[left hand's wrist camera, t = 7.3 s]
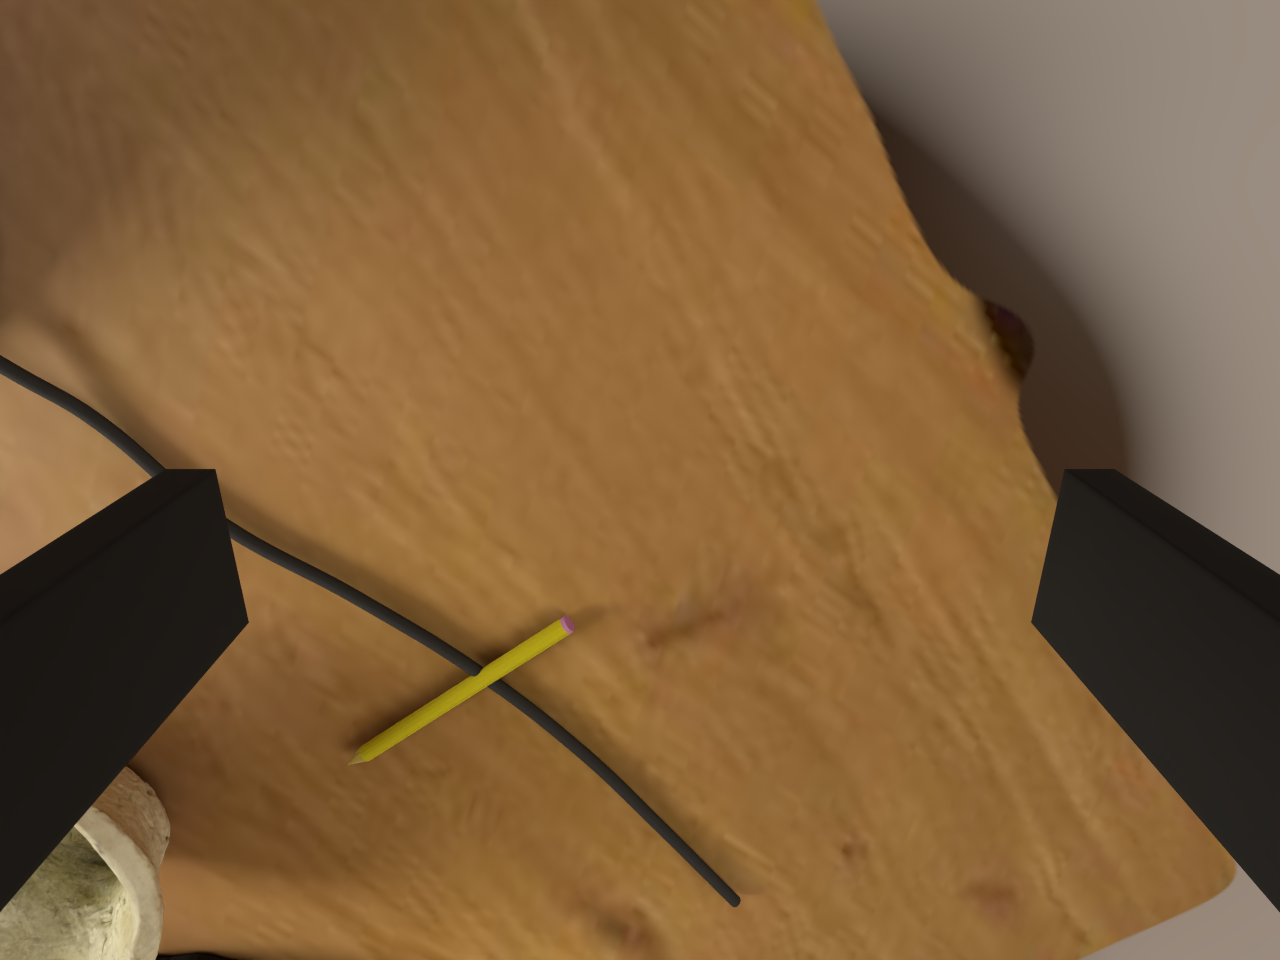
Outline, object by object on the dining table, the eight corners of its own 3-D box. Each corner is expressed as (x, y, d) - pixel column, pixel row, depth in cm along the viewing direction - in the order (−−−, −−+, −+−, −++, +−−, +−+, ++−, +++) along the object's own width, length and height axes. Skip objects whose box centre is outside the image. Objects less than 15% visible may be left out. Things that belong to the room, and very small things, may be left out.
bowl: (213, 832, 54) (-21, 1009, 47) (43, 636, 46) (-267, 812, 39) (263, 956, 43) (-30, 1208, 36) (53, 728, 36) (-369, 992, 29)
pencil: (564, 612, 42) (563, 621, 41) (575, 624, 43) (574, 634, 42) (344, 753, 46) (337, 765, 45) (355, 764, 46) (349, 776, 45)
